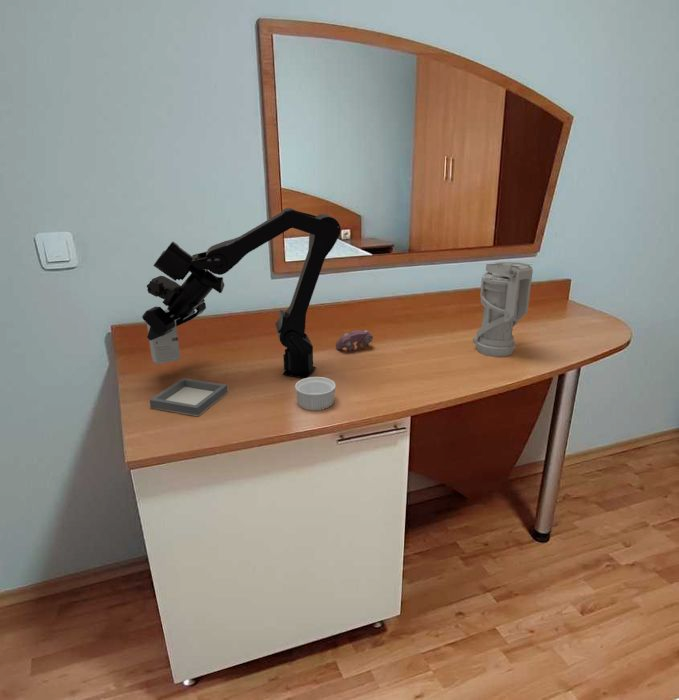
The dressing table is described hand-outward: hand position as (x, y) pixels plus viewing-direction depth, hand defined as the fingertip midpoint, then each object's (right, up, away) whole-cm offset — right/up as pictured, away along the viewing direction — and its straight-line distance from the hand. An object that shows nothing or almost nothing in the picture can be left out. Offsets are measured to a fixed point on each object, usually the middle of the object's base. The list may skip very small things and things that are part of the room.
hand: (157, 333), depth 124 cm
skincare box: (+1, -6, +2) cm, 7 cm away
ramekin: (+39, -16, -10) cm, 43 cm away
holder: (+10, -15, -9) cm, 20 cm away
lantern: (+87, -5, +17) cm, 89 cm away
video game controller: (+48, -4, +20) cm, 52 cm away
